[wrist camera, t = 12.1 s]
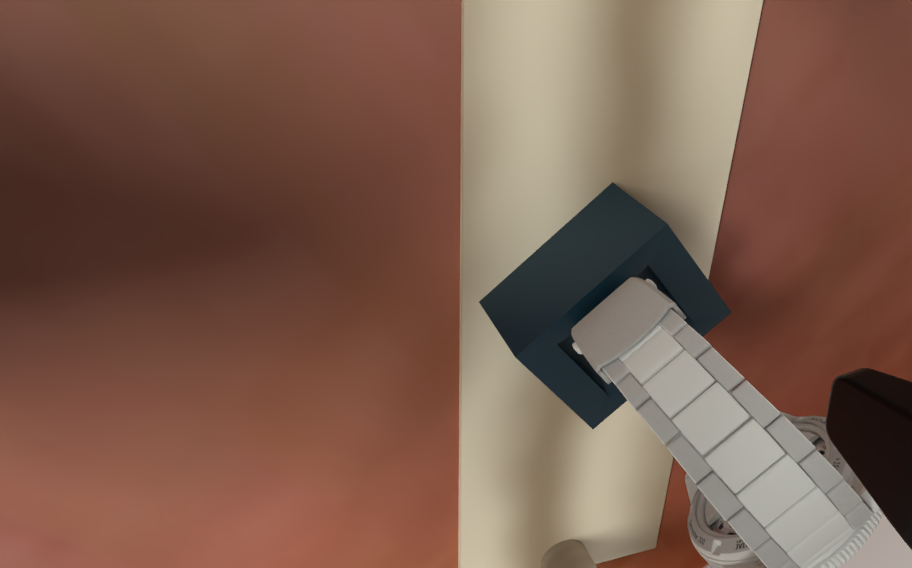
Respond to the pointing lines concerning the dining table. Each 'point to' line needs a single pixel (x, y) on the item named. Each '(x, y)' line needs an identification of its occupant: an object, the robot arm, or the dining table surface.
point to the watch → (679, 387)
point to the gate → (546, 211)
